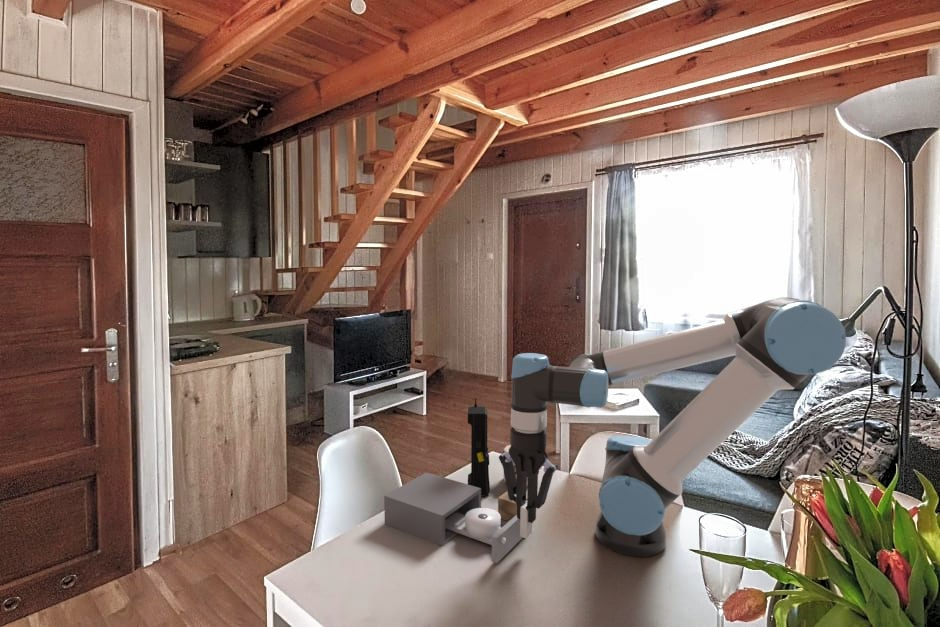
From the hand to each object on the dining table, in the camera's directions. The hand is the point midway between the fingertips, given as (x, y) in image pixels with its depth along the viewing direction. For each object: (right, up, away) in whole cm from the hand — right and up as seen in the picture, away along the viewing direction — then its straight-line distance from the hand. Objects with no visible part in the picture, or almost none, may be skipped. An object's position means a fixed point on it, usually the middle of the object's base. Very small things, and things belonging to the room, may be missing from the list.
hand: (525, 534), depth 107 cm
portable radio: (-10, -1, +29) cm, 31 cm away
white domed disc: (-9, -2, +6) cm, 11 cm away
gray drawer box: (-21, -3, +14) cm, 25 cm away
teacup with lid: (+3, -1, +36) cm, 36 cm away
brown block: (-2, -2, +16) cm, 16 cm away
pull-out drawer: (-9, -3, +6) cm, 12 cm away
